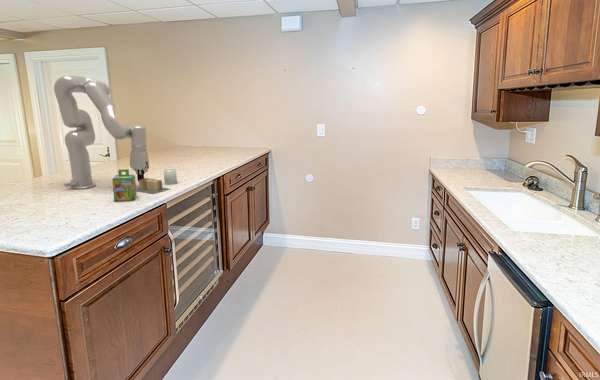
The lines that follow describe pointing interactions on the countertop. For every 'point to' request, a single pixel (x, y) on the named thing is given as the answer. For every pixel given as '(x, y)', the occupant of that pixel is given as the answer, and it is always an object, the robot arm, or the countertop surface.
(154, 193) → the mat
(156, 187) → the block
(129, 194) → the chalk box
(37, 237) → the countertop surface
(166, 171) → the white small cylinder
